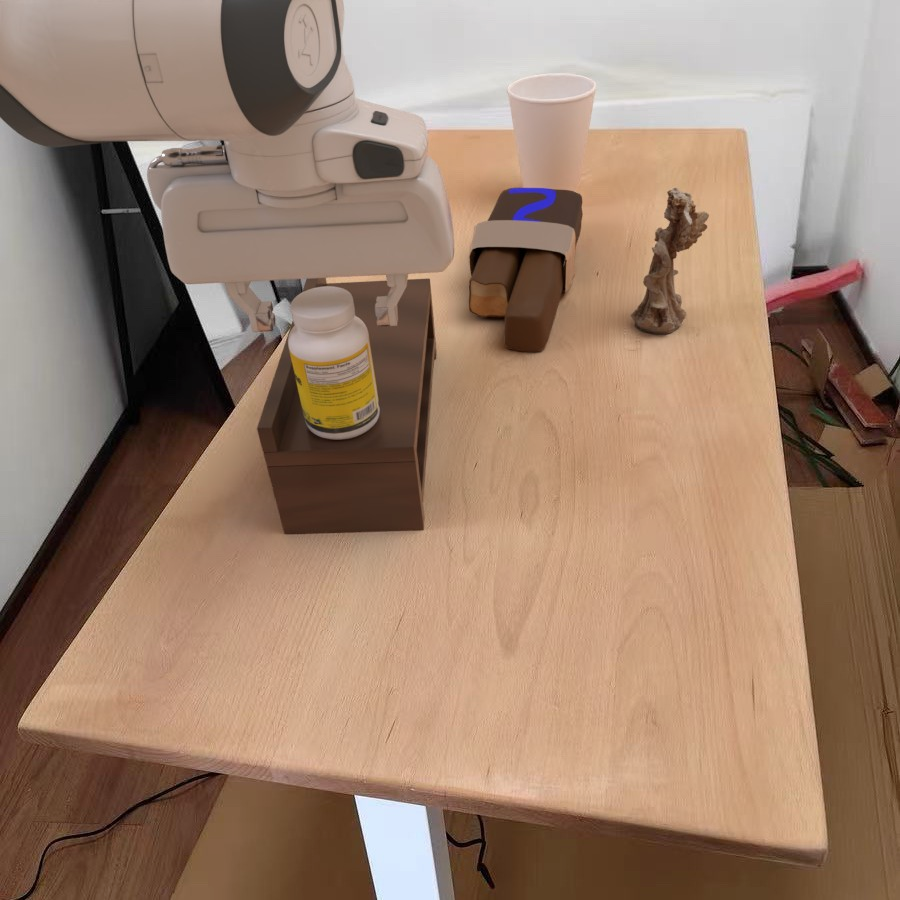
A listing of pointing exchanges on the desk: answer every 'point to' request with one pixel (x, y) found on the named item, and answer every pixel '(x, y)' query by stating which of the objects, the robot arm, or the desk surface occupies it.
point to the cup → (551, 127)
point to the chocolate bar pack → (525, 262)
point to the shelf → (370, 454)
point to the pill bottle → (333, 364)
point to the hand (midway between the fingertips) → (326, 325)
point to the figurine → (668, 265)
